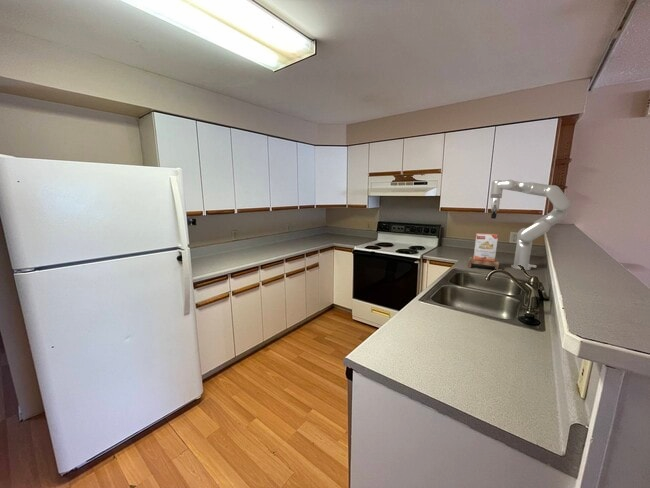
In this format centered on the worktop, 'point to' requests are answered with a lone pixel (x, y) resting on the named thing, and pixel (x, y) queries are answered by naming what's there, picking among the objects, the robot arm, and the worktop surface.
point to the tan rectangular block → (482, 262)
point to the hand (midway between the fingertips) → (493, 218)
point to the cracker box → (485, 247)
